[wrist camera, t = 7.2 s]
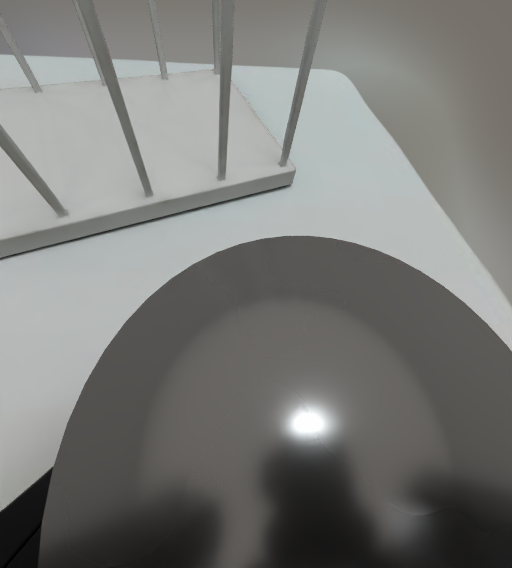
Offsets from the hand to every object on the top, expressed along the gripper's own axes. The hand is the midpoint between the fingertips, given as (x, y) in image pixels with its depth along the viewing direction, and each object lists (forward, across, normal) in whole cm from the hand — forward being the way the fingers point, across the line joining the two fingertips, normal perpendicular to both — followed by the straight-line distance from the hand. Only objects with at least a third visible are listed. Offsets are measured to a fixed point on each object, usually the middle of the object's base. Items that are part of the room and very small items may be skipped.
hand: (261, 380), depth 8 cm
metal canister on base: (+4, 0, +6) cm, 7 cm away
